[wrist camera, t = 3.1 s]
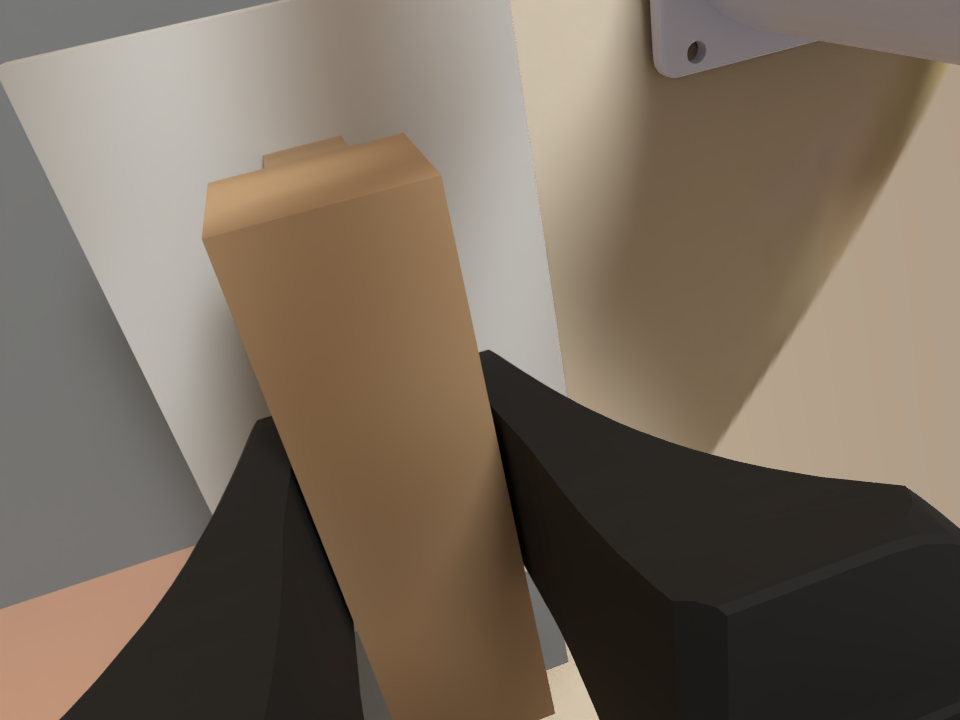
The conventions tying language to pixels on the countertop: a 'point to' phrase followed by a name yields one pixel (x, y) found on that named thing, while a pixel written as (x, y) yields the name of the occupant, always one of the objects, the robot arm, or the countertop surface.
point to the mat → (92, 369)
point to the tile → (75, 636)
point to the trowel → (332, 292)
